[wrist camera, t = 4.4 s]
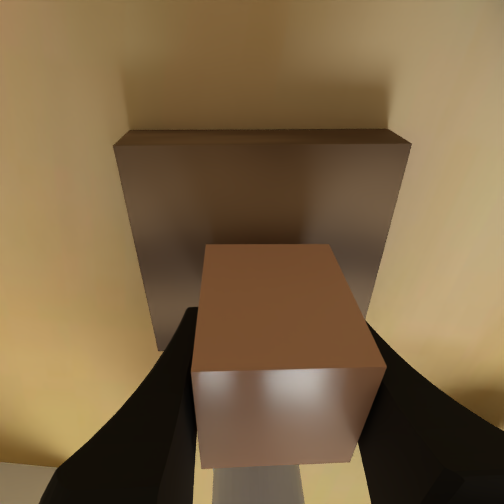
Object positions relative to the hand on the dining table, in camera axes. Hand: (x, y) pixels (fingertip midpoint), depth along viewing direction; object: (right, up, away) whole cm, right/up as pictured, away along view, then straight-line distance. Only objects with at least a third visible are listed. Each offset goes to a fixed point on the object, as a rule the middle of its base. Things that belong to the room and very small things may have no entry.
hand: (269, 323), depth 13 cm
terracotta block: (0, +1, +1) cm, 2 cm away
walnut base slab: (0, +4, +5) cm, 6 cm away
